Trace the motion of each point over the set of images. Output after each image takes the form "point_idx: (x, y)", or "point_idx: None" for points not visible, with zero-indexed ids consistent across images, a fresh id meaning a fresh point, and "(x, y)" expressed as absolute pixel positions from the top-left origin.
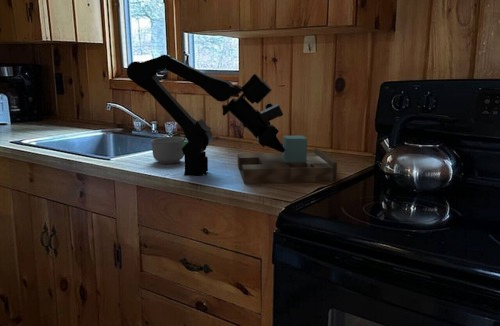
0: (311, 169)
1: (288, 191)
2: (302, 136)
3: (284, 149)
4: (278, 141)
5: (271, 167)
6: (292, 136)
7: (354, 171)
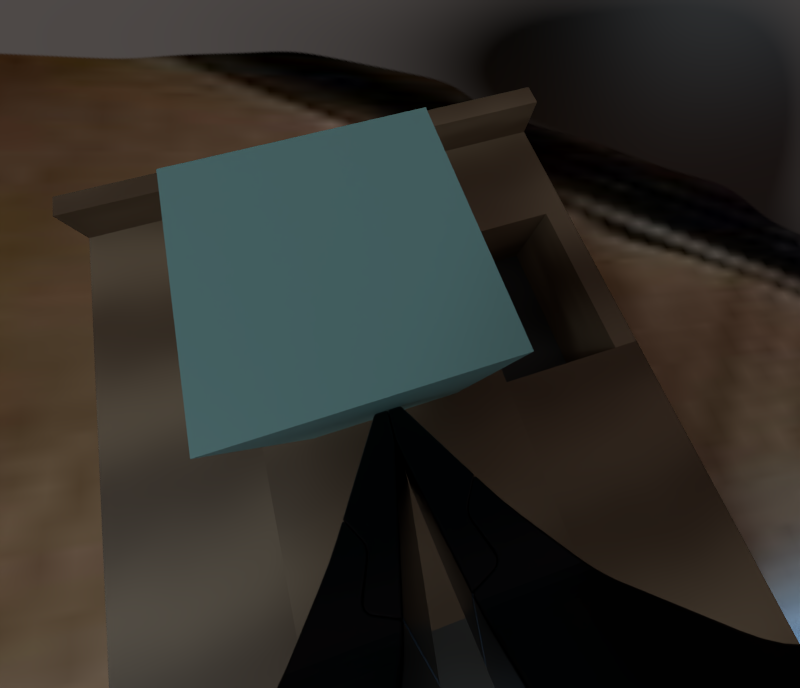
0: (572, 233)
1: (738, 352)
2: (255, 166)
3: (404, 412)
4: (489, 496)
5: (660, 479)
6: (272, 293)
7: (292, 116)
